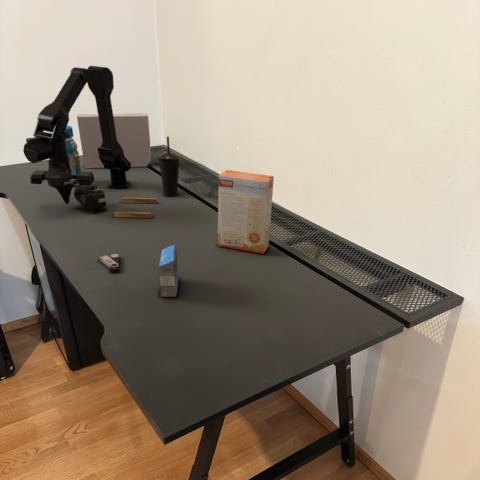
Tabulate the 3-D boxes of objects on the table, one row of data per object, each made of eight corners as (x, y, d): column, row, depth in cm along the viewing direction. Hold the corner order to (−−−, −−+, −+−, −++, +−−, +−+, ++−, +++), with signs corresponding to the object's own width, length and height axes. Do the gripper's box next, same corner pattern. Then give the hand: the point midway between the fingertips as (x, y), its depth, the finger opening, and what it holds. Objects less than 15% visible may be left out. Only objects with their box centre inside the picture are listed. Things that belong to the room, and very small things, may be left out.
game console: (85, 164, 191) (77, 113, 179) (150, 162, 197) (147, 113, 185) (84, 168, 186) (76, 116, 175) (151, 166, 192) (148, 115, 181)
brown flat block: (122, 201, 158) (121, 197, 157) (156, 202, 158) (156, 198, 158) (114, 217, 146) (113, 212, 145) (151, 218, 147) (151, 213, 146)
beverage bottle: (65, 188, 166) (54, 130, 155) (56, 182, 171) (45, 125, 160) (87, 184, 171) (78, 128, 159) (78, 178, 176) (69, 123, 164)
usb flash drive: (119, 271, 117) (119, 268, 116) (98, 273, 116) (97, 269, 115) (119, 256, 124) (119, 253, 123) (99, 257, 123) (99, 254, 122)
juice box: (163, 278, 115) (160, 233, 108) (178, 278, 116) (176, 233, 108) (160, 297, 108) (156, 250, 101) (176, 297, 108) (174, 250, 101)
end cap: (75, 205, 153) (71, 185, 149) (95, 201, 157) (92, 182, 153) (86, 215, 147) (83, 194, 143) (107, 211, 150) (104, 191, 146)
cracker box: (269, 246, 133) (275, 175, 121) (263, 255, 128) (268, 181, 116) (224, 238, 136) (226, 168, 124) (217, 246, 132) (217, 174, 120)
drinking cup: (183, 191, 168) (181, 134, 157) (178, 198, 162) (176, 140, 151) (162, 190, 169) (159, 133, 157) (157, 197, 163) (153, 138, 151)
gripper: (18, 161, 135) (30, 212, 144) (82, 163, 135) (90, 213, 144) (31, 151, 144) (41, 199, 153) (90, 153, 144) (98, 200, 153)
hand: (67, 203), depth 151 cm, fingers closed
